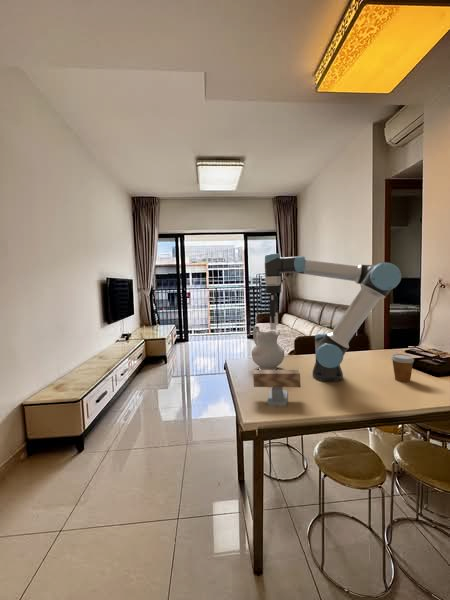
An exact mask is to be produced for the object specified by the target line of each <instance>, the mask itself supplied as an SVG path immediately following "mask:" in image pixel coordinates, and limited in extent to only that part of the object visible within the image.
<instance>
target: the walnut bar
mask: <svg viewBox="0 0 450 600" xmlns="http://www.w3.org/2000/svg"><path fill="white" fill-rule="evenodd" d="M252 375H253V377H252V379H253V388H272V387H283V388H301V373H300V371H299V369H277V370H258V369H253V371H252Z"/></svg>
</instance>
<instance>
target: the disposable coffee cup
mask: <svg viewBox="0 0 450 600" xmlns="http://www.w3.org/2000/svg"><path fill="white" fill-rule="evenodd" d="M391 360H392V366H393V374H394V380H395V381H398V382H401V383H410V382H411V378H412V372H413V365H414V361H415V359H414V356H412V355H410V354H405V353H404V354H403V353H395V354H392V355H391Z"/></svg>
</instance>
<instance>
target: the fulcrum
mask: <svg viewBox="0 0 450 600" xmlns="http://www.w3.org/2000/svg"><path fill="white" fill-rule="evenodd" d="M268 393H269V394H268V398H267V402H266V405H267V406H273V407H283V408H285V407H286V408H287V406H288V390H284V387H271V389H270V390H269V392H268Z"/></svg>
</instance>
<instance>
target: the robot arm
mask: <svg viewBox="0 0 450 600" xmlns="http://www.w3.org/2000/svg"><path fill="white" fill-rule="evenodd" d="M281 273H283V274H284V273H292V274H298V275H299V274H302V275H308V276H314V277H315V276H316V277H321V278H322V277H323V278H327V279H329V278H331V279H336V280H343V281H352V282H354V283H355V284H358V285H360V289H359V292H358V293H357V295H356V296H355V297H354V299H353V301H352V302H350V303H351V304H350V305H349V306H348V308H346V310H345V312H344V313H343V315H342V316H341V318H340V319H339V321H338V322H337V323H336V324H335V327H333V329H332V331H331V332H326V333H316V334H315V335H314V346H315V347H314V348H315V349H314V350H315V353H314V355H315V363H314V366H313V369H312V377H313V378H314V379H316V380H318V381H322V382H323V381H324V382H327V383H328V382H334V383H335V382H340V381H342V380H343V379H344V373H343V371H342V367H341V364H342V362H343V361H344V356H345V354H346V353H347V352H348V350H349V348H350V346H349V345H350V344H349V343H350V341H351V340H352V338H353V337H354V335H355V334H356V332H357V331H358V330H359V329H360V327H361V325H362V324H363V323H364V321H365V320H366V319H367V317H368V316H369V314H370V313H371V311H373V309H374V308H375V306H376V304H377V303H378V302H379V301H380V300H382V299H386V297H387V296H388V295H389V294H390V292H391V291H392V290H393V289H396V287H397V286H398V285H399V284H400V283H401V280H402V273H401V269H399V267H398V266H396V265H395V264H393V263H391V262H388V261H387V262H380V263H379V262H378V263H376V264H359V265H349V264H343V263H335V262H327V261H326V262H325V261H316V260H311V259H306V258H305V256H301V255H297V256H287V257H281V255H280V254H279V253H268V254H266V255H265V256H264V274H265V275H264V277H265V278H264V279H263V280H264V282H265V285H266V286H265V294H270V295H269V297H268V299H269V314H268V315H267V316H268V317H269V326H270V330H269V331H276V330H277V326H278V325H279V313H280V310H279V309H278V300H279V299H278V298H279V296H278V294H279V293H282V287H281V284H282V282H281V281H282V278H281V277H282V276H281Z"/></svg>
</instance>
